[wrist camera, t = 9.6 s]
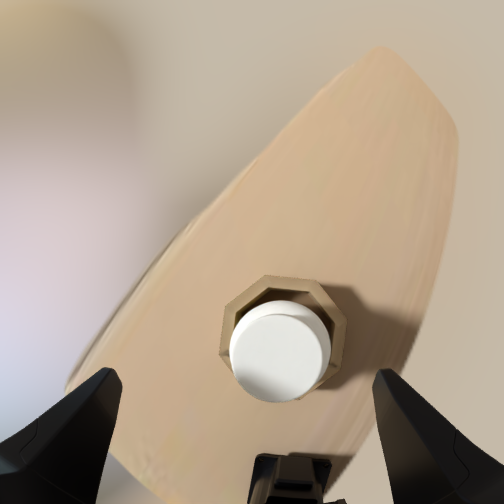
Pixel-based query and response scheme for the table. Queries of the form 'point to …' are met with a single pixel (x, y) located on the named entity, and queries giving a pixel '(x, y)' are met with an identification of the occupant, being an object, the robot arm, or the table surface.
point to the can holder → (292, 291)
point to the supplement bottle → (279, 351)
